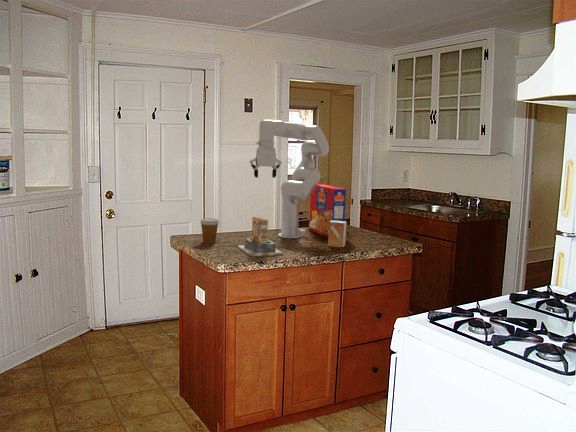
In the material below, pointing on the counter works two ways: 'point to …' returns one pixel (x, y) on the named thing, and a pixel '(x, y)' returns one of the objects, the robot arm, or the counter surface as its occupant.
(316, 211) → the pasta box
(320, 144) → the robot arm
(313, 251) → the counter surface
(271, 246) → the slot stand
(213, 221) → the disposable coffee cup
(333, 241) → the small box
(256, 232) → the candy box
